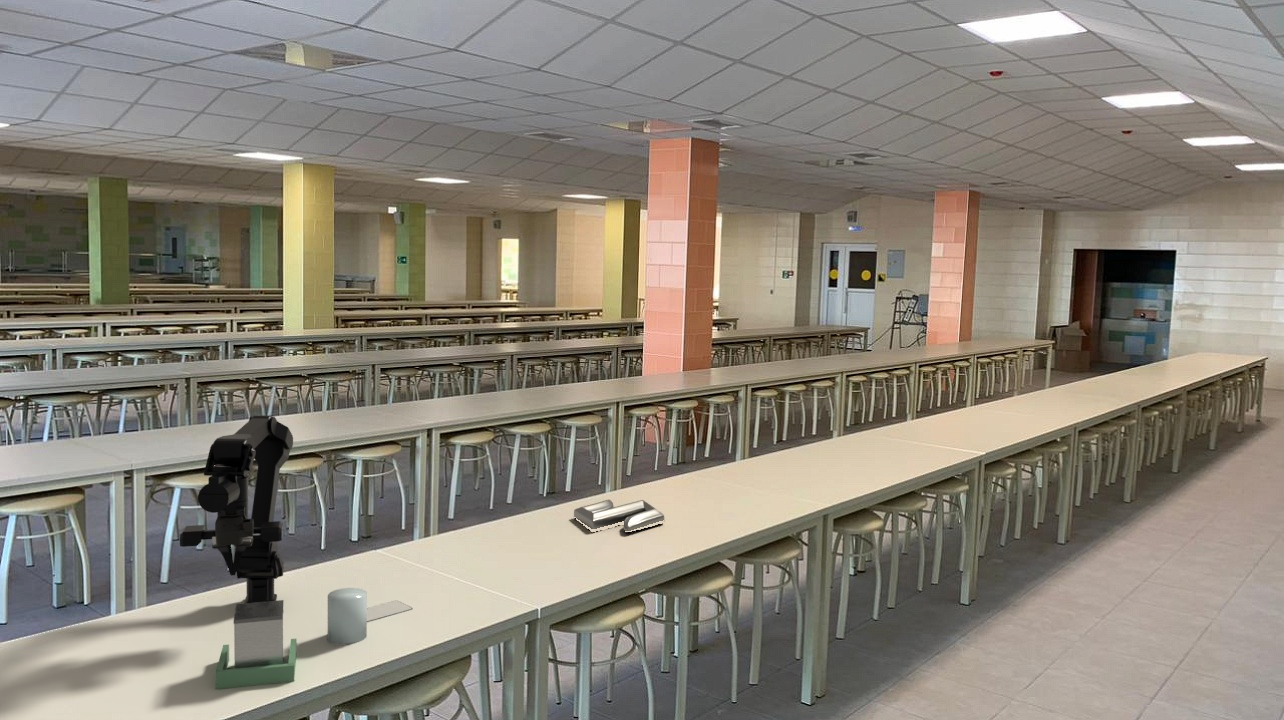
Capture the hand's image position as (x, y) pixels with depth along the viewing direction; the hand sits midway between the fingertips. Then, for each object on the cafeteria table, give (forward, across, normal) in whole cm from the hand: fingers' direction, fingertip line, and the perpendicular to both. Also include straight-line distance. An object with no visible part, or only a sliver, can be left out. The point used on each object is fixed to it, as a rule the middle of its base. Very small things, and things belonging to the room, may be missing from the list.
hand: (233, 574), depth 186 cm
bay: (+12, +6, -20) cm, 24 cm away
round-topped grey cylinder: (+12, +22, -8) cm, 26 cm away
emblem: (+12, +102, +63) cm, 121 cm away
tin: (+12, +6, -20) cm, 24 cm away
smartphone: (+13, +28, +4) cm, 31 cm away
